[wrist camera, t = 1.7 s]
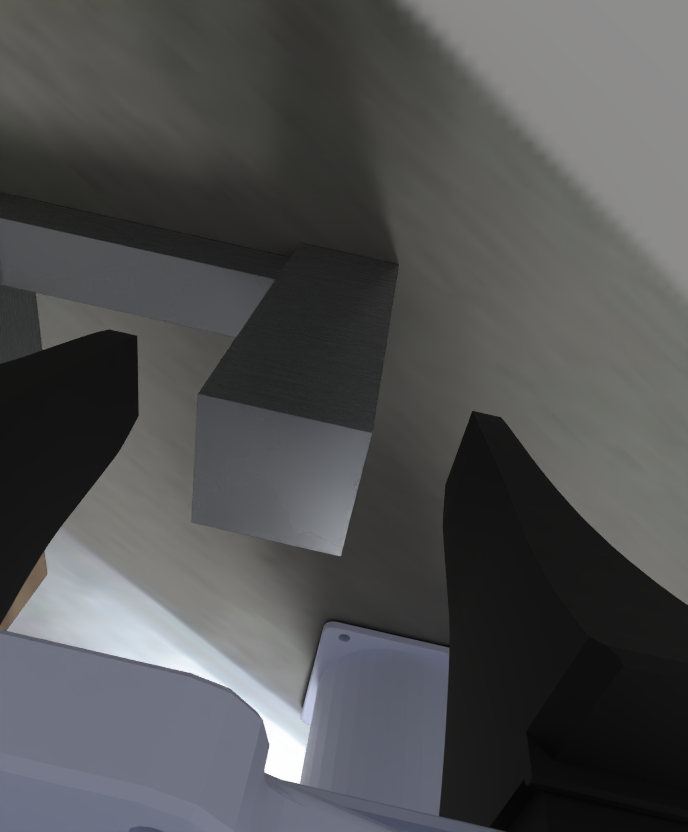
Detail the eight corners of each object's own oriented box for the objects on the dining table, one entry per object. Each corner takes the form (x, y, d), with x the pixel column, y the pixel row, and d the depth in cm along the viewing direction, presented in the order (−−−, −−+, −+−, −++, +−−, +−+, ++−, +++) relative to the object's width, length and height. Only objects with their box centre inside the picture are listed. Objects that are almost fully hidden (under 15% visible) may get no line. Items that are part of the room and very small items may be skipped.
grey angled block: (398, 264, 17) (372, 433, 10) (346, 482, 22) (301, 710, 14) (-43, 166, 18) (-404, 258, 10) (-3, 403, 22) (-228, 587, 15)
